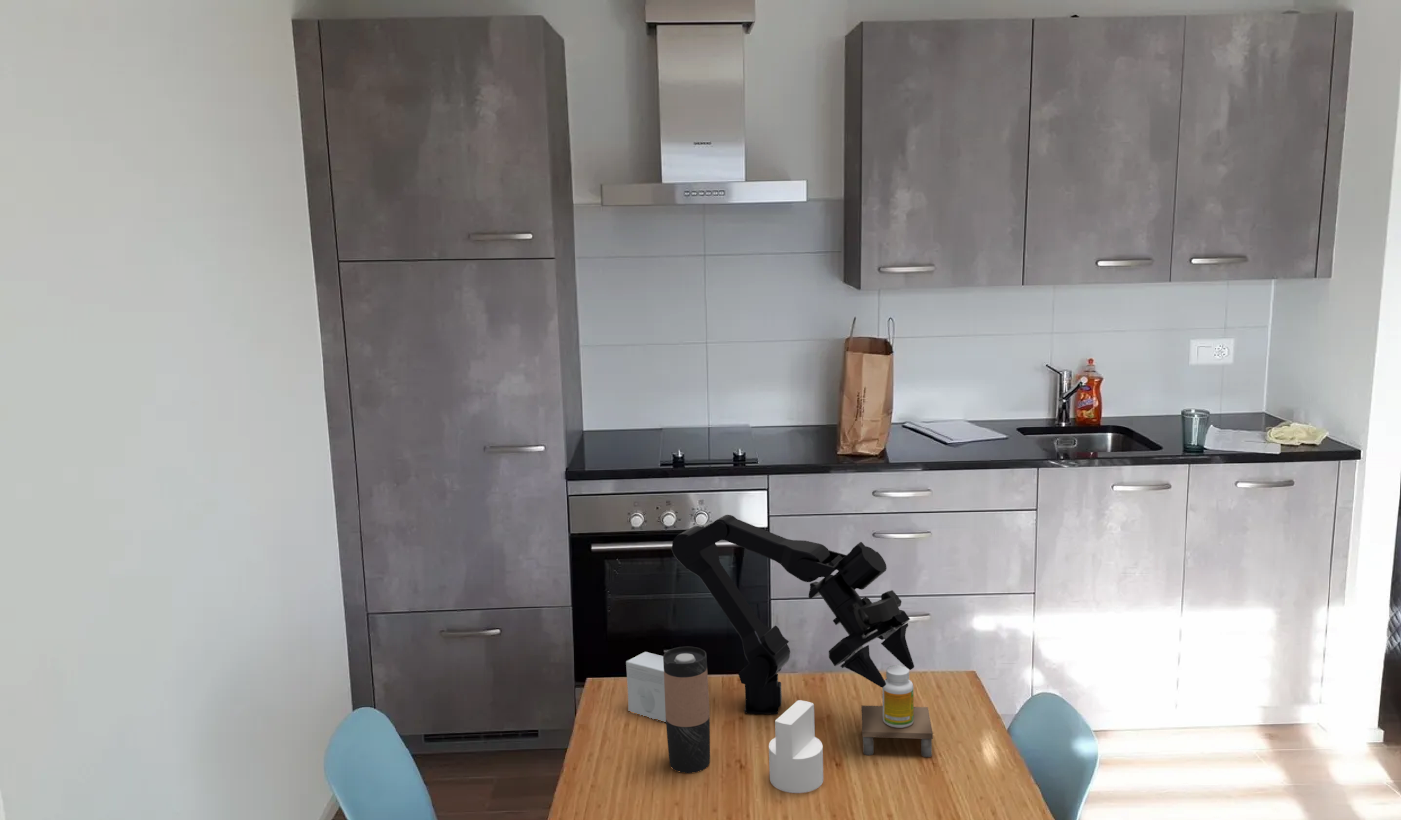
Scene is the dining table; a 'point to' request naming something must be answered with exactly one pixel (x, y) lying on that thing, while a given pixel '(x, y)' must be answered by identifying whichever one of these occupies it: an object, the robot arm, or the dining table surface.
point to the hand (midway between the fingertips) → (898, 677)
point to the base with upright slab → (796, 751)
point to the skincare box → (646, 685)
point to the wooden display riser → (896, 729)
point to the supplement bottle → (898, 698)
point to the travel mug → (687, 708)
